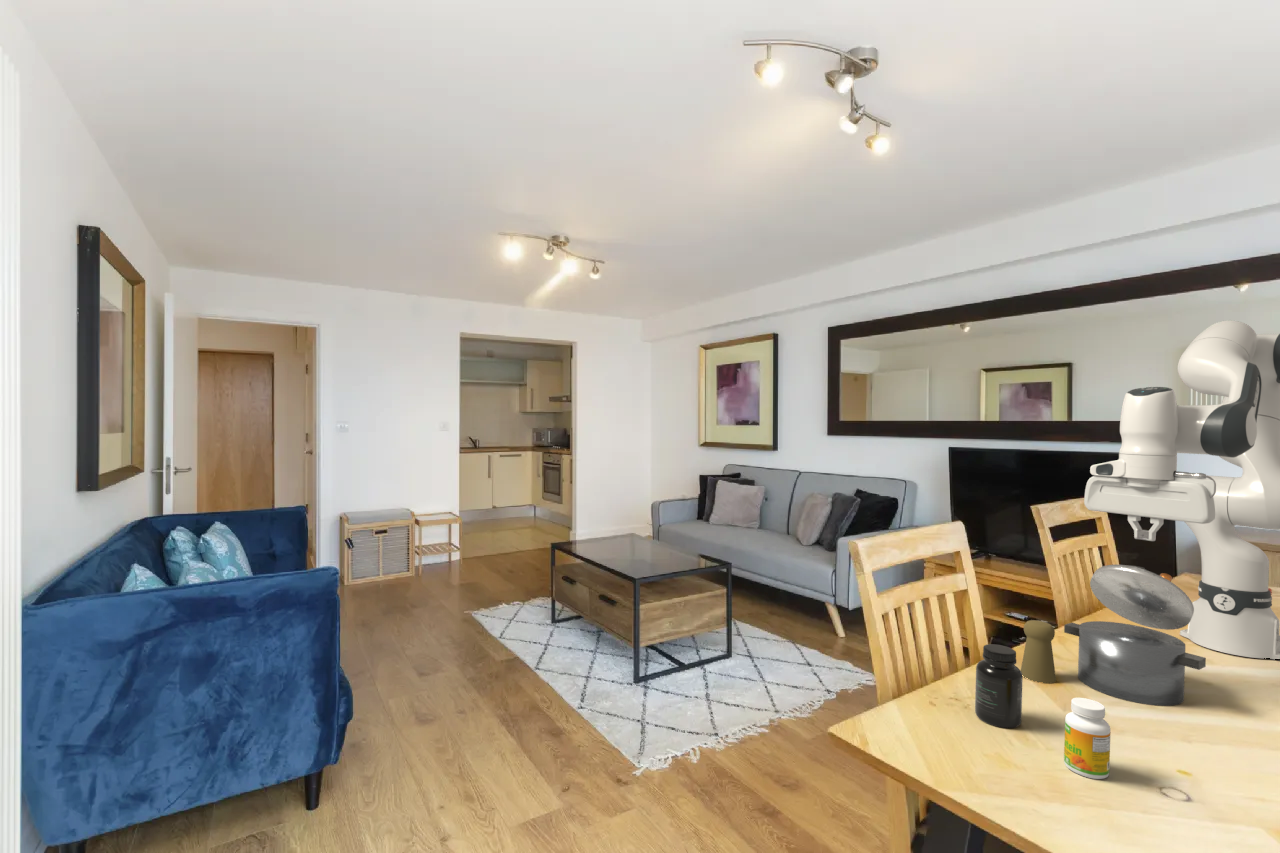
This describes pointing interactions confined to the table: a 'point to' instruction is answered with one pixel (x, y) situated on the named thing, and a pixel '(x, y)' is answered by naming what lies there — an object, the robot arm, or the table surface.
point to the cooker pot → (1133, 662)
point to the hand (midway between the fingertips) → (1144, 539)
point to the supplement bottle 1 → (998, 687)
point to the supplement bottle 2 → (1087, 739)
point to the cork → (1038, 652)
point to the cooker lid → (1142, 596)
